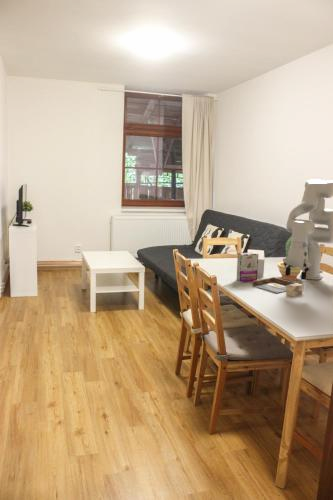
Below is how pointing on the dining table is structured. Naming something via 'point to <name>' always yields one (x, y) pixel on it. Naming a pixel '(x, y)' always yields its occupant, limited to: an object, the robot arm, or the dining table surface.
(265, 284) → the corner arena
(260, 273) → the stack of papers
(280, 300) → the dining table surface
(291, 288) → the maple block
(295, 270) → the potted cactus
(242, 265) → the candy bar box
